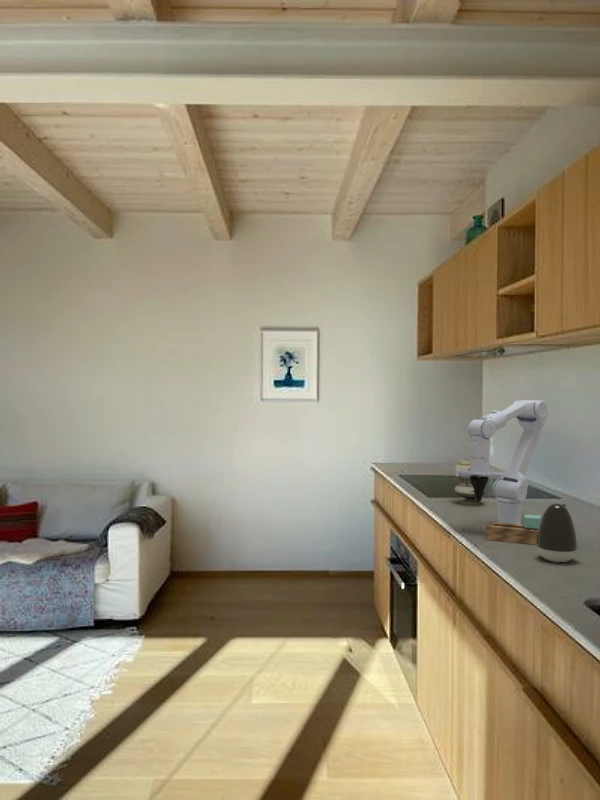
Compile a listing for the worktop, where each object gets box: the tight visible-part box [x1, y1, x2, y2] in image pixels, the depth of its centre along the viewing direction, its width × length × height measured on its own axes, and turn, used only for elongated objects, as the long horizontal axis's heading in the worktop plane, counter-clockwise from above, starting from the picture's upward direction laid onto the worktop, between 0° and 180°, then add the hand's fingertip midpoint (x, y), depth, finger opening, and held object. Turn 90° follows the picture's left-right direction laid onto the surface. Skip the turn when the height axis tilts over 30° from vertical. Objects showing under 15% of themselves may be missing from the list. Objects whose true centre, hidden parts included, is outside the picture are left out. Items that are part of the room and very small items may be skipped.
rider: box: [523, 513, 542, 530], centre depth 186 cm, size 4×5×5 cm
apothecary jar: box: [454, 458, 487, 507], centre depth 247 cm, size 12×12×18 cm
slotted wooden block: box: [485, 521, 538, 546], centre depth 186 cm, size 24×8×6 cm, turn 67°
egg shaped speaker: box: [535, 503, 579, 563], centre depth 166 cm, size 10×10×15 cm
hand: (478, 500), depth 196 cm, fingers closed
